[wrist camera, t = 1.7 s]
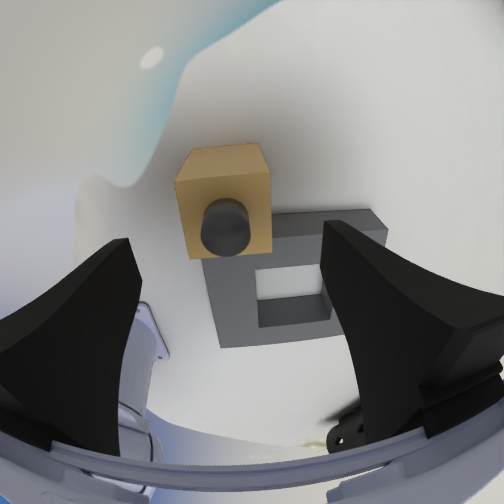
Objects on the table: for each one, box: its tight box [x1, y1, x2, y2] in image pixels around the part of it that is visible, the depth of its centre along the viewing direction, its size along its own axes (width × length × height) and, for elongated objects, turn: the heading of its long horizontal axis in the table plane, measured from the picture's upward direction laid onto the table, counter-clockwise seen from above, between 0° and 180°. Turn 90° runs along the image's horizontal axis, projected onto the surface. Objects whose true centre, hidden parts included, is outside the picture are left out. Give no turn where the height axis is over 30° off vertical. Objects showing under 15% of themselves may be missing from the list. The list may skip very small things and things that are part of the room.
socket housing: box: [201, 209, 388, 348], centre depth 21 cm, size 12×10×3 cm
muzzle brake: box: [326, 407, 366, 454], centre depth 32 cm, size 10×28×10 cm, turn 152°
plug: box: [174, 143, 272, 259], centre depth 14 cm, size 4×4×8 cm
